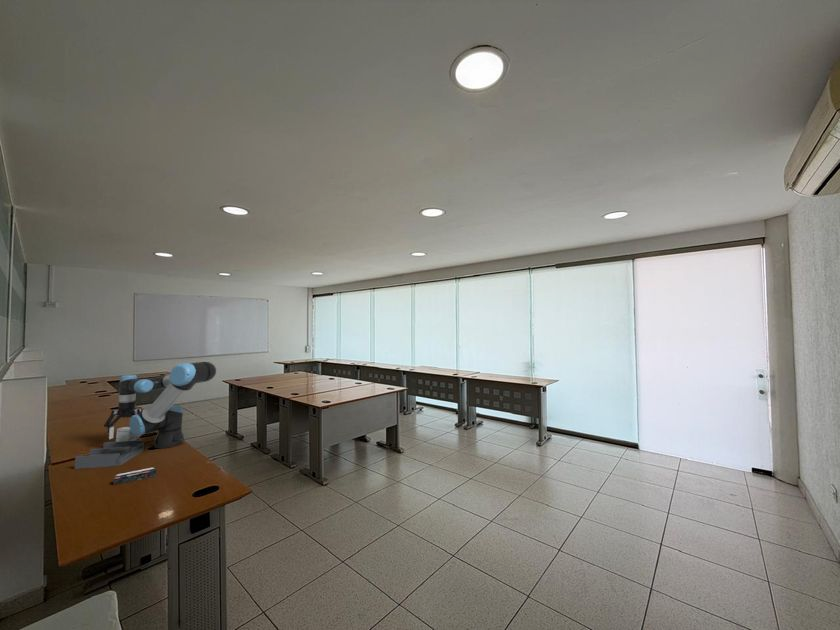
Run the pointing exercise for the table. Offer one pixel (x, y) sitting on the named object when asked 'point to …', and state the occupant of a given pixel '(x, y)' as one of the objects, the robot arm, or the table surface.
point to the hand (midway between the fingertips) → (125, 437)
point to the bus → (134, 475)
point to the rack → (110, 454)
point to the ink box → (125, 434)
